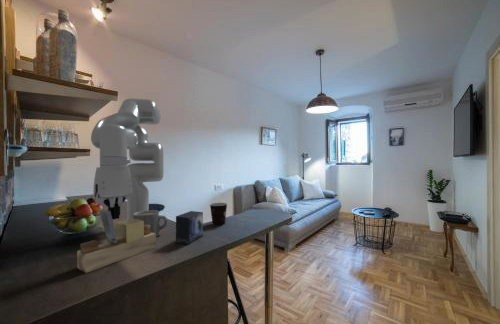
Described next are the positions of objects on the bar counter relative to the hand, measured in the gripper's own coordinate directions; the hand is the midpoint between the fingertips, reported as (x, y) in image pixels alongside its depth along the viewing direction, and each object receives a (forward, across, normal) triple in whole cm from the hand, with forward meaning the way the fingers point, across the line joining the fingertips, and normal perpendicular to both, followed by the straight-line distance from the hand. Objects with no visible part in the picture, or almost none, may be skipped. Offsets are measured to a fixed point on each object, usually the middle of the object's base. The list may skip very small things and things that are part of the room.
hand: (114, 218), depth 70 cm
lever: (+7, +1, 0) cm, 7 cm away
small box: (+13, -25, +8) cm, 29 cm away
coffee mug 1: (+13, -20, -11) cm, 26 cm away
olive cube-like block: (+8, -5, 0) cm, 10 cm away
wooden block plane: (+13, -2, 0) cm, 13 cm away
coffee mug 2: (+13, -47, +4) cm, 49 cm away
